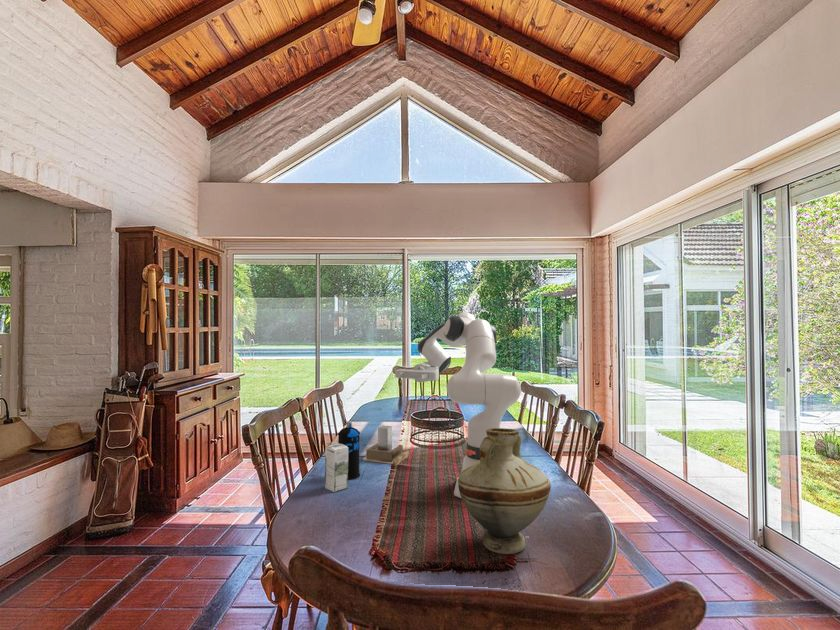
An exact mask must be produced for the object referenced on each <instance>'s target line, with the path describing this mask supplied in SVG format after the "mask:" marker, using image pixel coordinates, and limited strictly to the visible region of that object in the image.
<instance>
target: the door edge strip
mask: <svg viewBox="0 0 840 630" xmlns="http://www.w3.org/2000/svg"><path fill="white" fill-rule="evenodd" d="M410 454H411V449H407V450H406V451H405V452H404V453H403V454H402V455H401V456H399V457H398V458H396V459H395V460H394V461H393V464H392V466H393V467H397V466H398V465H399V464H401V463H402V462H403V461H405V458H406V459H407V458H408V457H409V456H411V455H410Z"/></svg>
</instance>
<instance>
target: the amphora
mask: <svg viewBox="0 0 840 630" xmlns="http://www.w3.org/2000/svg"><path fill="white" fill-rule="evenodd" d="M486 433H487V436H488V437H485V438H484V439H483V440H482V442H481V445H480V460H479V461H477V462H475V463H473V464H471V465H470V466H468V467H466V468H465V469H464V470H463V471H462V470H461V471H462V472H461V471H460V472H461V473H460V472H459V476H458V477H459V478H458V477H457V478H458V487H459V492H460V495H461V498H460V499H461V500H462V502H463V505H464V507H465V508H466V510H467V511H468V512H469V514H470V515H471V517H473V519H474V520H475V521H476V522H477V523H478V524H479V525H480V526H482V528H484V530H485V531H484V532H483V533H482V544H483V546H484V547H485V548H486V549H487V550H489V551H490V552H493V553H496V554H501V555H513V554H517V553H520V552H522V551H523V550H524V549H525V548H526V539H525V537H524V535H523V534H522V533H521V531H524V530H525V529H526V528H527V527H529V526H530V525H532V523H533V522H535V520H536V519H537V518H538V517H539V516H540V514H541V513H542V511H543V510H544V508H545V506H546V504H547V501H548V499H549V496H550V491H551V488H552V485H551V482H550V479H549V478H548V477H547V475H546V474H545V473H544V472H543V471H542V470H540V468H538V467H536V466H535V465H534V464H531V463H530V462H528V461H526V460H525V459H523V458H522V455H521V444H522V438H521V435H520V431H519V430H517V429H514V428H504V427H503V428H502V427H500V428H491V429H487V430H486ZM492 449H493V454H492V455H491V456H490V454H491V451H492Z"/></svg>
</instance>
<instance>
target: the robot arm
mask: <svg viewBox="0 0 840 630" xmlns="http://www.w3.org/2000/svg"><path fill="white" fill-rule="evenodd" d="M497 337H498V331H497V329H496V327H495V326H494V325H492V324H490V323H489V321H487V320H485V319H483V318H476V317H475V316H474V315H473V314H472V313H471V312H467V311H464V312H463V311H462V312H460V313H458V314H457V315H451V316H450V317H448V318H447V319H446V321H445V322H443V323H442V324H440V325H438V326H437V327H436V328H434V329H433V330H432V331H431V332H429V334H427V335H426V336H425V337H423V338H422V339H420V341H418V344H417V351H418V352H419V353H420V354H421V355H422V356H423V357H424V358H425V359H426V360H427V361H423V362H421V363H418V364H416V365H414V366H413V367H412V368H400V369H399V368H398V369H395V371H394V377H395V378H396V379H409V380H410V379H412V380H414V381H416V382H417V383H426V382H437V381H439V376H440V375H441V374H443V373H444V372H445V371H446V370H447V369H448V368H449V367H450V365H451V363H452V357H451V356H450V354H449V353H448V352H447V351H446V350H445V349H444V348H443V347H442V346H441V344H440V343H439V342H438V341H437V339H439V340H441V341H442V342H443V343H445V345H447V346H449V347H451V348H461V347H463V346H465V361H464V364H463V366H462V368H461V369H460V370H458V371H457V372H455V373H454V374H453V375H452V376H451V377H449V379H448V382H447V384H446V391H447V392H446V393H447V395H448V398H449V400H450V401H451V402H453V403H456V404H461V405H467V406H468V405H473V406H474V405H475V406H477V405H481V406H482V405H483V406H485V407H484V408H483V410H482V411H481V412H479V413H476V414H475V415H473V416H472V417H471V418H470V419H469V420H468V423H467V442H466V446H465V456H463V461H462V462H463V463H462V467H461V470H460V472H459V474H460V473H461V472H462V471H463V470H464V469H465V468H466V467H468V466H470V465H471V464H473V463H475V462H477V461H479V460H480V445H481V442H482V440H483V439H484V438H485V437H488V436H487V433H486V430H487V429H491V428H501V423H502V420H503V417H504V415H505V414H506V412H507V410H509V408H510V407H512V405H514V404H516V402H517V401H518V400H519V399H520V397H521V393H522V387H521V383H520V381H519V379H518V378H517V377H516V376H514V375H511V374H506V373H498V372H497V373H495V372H494V373H493V372H492V373H485V372H487V371H489V370H491V369H492V368H493V367H494V365H495V364H496V362H497V351H496V350H497V349H496V340H497ZM492 454H493V449H492V451H491V454H490V456H491V455H492ZM458 478H459V476H458V477H457V478H456V483H455V486H454V490H453V495H454V496H455V497H456V498H459V499H462V498H461V495H460V492H459V487H458Z"/></svg>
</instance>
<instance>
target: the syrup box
mask: <svg viewBox="0 0 840 630" xmlns="http://www.w3.org/2000/svg"><path fill="white" fill-rule="evenodd" d="M324 452H325V454H324V455H325V456H324V457H325V458H324V459H325V461H324V464H325V465H324V469H325V470H324V488H325V489H326V490H327V491H330V492H331V493H336V492H340V491H343V490H346V489H348V488H349V487H348V485H349V480H348V447H347V446H345V445H343V444H338V443H336V444H331V445H327V446H325V451H324Z"/></svg>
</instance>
